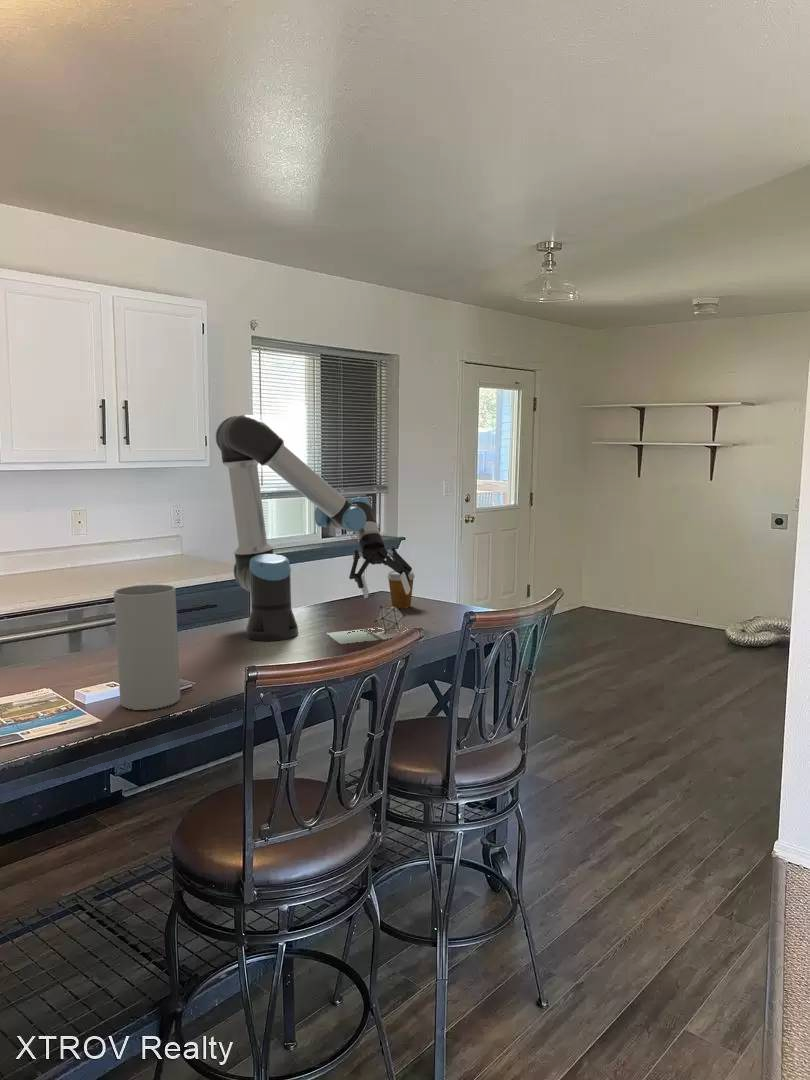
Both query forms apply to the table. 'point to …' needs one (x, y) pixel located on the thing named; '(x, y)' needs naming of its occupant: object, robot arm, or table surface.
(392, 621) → the game die
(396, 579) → the disposable coffee cup
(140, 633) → the cylinder vase
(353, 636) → the game board
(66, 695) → the table surface
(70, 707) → the table surface
